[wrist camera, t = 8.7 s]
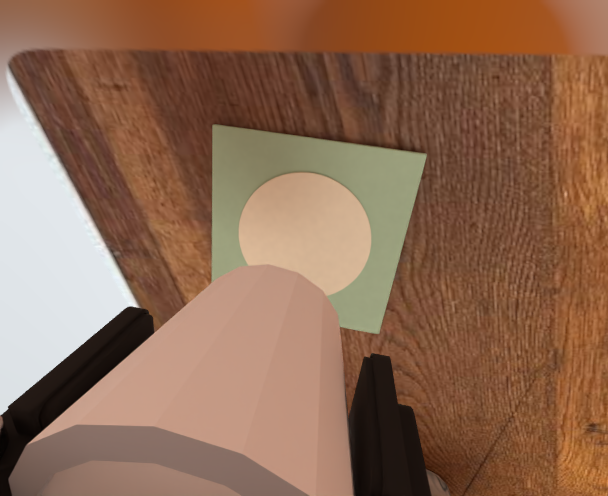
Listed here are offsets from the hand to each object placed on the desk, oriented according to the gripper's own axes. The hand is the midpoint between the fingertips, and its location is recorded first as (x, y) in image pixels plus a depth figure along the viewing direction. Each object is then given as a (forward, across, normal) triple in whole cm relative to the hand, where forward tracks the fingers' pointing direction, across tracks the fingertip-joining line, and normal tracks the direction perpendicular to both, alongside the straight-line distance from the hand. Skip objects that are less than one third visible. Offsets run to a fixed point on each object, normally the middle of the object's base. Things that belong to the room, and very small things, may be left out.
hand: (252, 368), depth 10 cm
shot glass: (+2, 0, 0) cm, 2 cm away
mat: (+13, 0, 0) cm, 13 cm away
